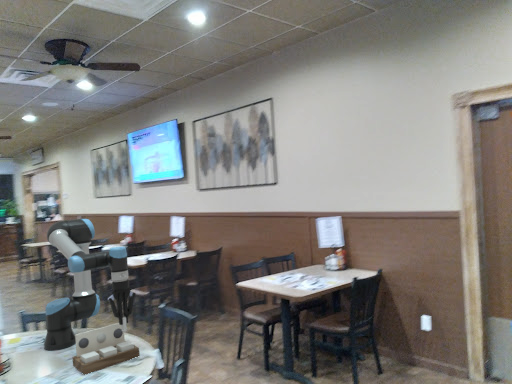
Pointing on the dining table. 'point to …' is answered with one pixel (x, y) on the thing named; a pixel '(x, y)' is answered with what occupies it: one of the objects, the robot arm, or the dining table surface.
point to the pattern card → (99, 339)
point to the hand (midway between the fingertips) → (124, 331)
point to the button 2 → (124, 346)
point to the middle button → (107, 351)
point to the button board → (105, 361)
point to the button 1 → (89, 357)
